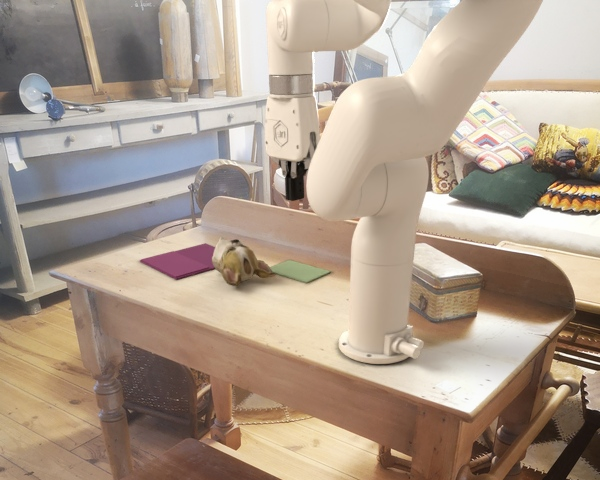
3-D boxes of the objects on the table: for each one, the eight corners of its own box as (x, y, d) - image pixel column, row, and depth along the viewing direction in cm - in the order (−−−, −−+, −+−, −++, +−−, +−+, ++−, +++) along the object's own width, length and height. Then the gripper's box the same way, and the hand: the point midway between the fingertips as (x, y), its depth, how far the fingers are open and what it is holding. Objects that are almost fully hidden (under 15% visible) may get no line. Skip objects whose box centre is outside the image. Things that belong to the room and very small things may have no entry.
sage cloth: (330, 272, 129) (330, 271, 128) (306, 283, 123) (306, 281, 123) (289, 260, 135) (289, 259, 135) (265, 270, 130) (265, 269, 130)
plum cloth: (244, 260, 136) (244, 258, 136) (176, 279, 126) (176, 277, 126) (205, 244, 146) (205, 242, 146) (139, 261, 136) (139, 259, 136)
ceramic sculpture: (242, 225, 129) (278, 246, 119) (243, 262, 134) (278, 286, 124) (197, 234, 124) (231, 257, 114) (200, 273, 129) (233, 298, 119)
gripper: (246, 87, 103) (253, 196, 112) (305, 89, 93) (307, 209, 102) (279, 84, 107) (283, 190, 116) (339, 86, 97) (338, 201, 107)
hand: (295, 199), depth 109 cm, fingers closed
